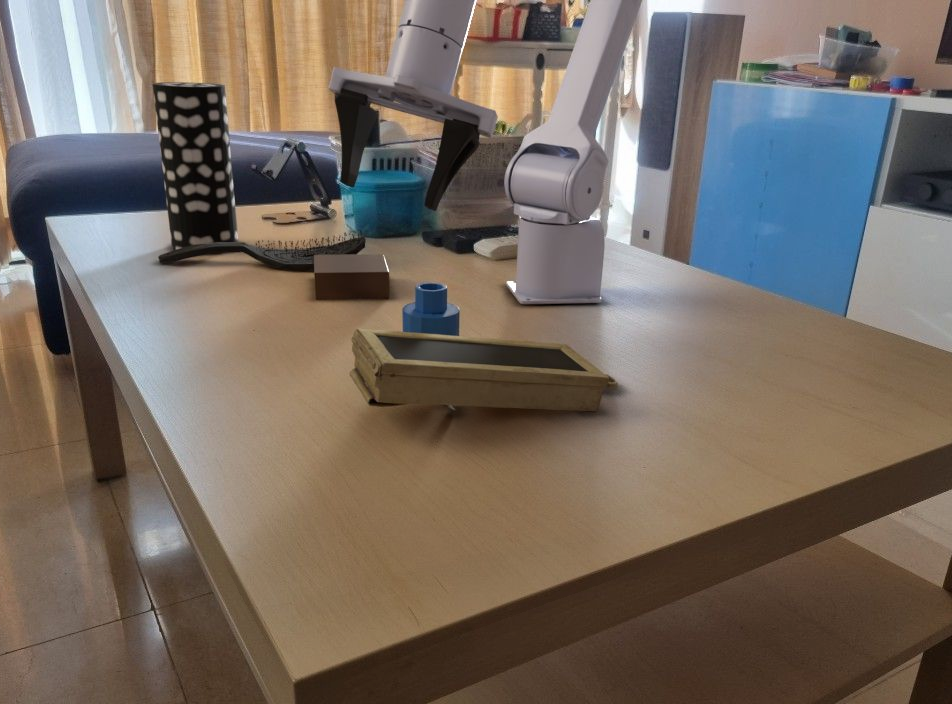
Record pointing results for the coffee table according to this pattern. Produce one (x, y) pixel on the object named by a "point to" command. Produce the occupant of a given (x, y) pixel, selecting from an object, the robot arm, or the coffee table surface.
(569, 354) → the box
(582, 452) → the coffee table surface
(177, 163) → the white-spotted black cylinder
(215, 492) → the coffee table surface
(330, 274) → the block
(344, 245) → the hairbrush
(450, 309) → the bottle
